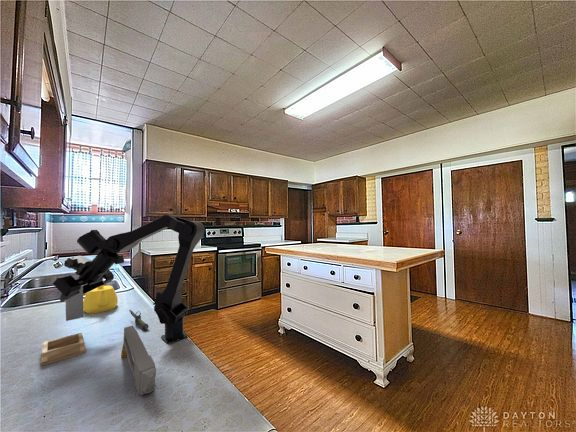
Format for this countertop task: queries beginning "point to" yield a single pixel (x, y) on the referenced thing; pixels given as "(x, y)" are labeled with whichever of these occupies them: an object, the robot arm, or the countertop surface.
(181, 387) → the countertop surface
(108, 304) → the teapot
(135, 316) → the knife
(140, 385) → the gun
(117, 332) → the countertop surface
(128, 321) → the countertop surface
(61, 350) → the dock
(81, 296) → the post
